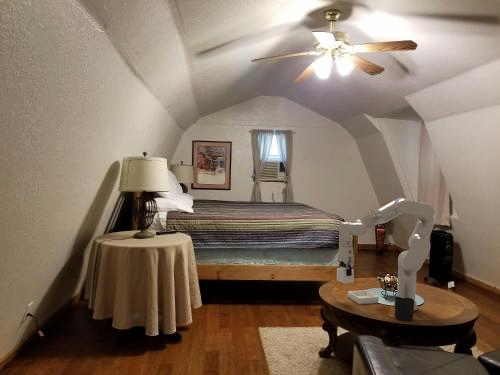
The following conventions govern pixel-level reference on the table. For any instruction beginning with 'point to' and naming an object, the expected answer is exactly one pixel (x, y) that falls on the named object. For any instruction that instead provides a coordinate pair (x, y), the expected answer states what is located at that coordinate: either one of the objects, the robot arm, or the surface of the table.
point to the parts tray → (363, 297)
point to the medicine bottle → (344, 274)
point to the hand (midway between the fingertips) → (345, 273)
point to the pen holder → (404, 308)
